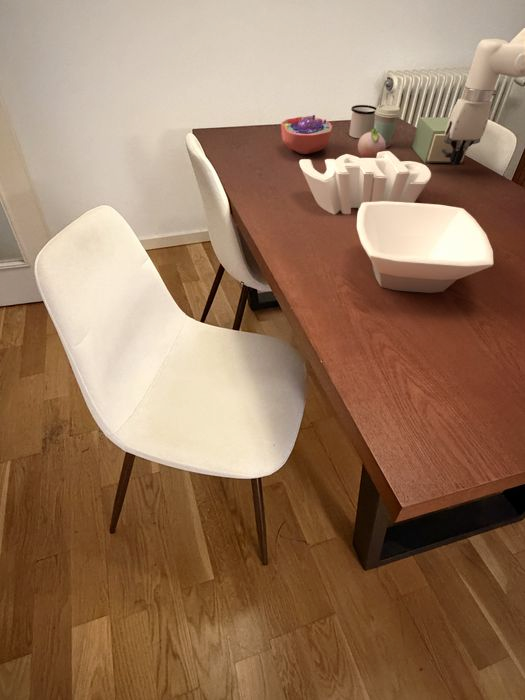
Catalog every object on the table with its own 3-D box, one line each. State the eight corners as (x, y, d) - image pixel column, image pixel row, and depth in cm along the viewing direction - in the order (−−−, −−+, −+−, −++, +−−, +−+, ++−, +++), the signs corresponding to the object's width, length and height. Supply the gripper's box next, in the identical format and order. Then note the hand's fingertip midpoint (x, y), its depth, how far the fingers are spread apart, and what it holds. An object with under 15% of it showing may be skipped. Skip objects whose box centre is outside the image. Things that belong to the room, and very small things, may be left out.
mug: (371, 140, 147) (377, 113, 140) (346, 138, 148) (350, 110, 142) (373, 130, 155) (378, 104, 148) (349, 128, 156) (353, 102, 150)
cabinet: (462, 162, 132) (473, 131, 125) (424, 162, 132) (433, 130, 125) (446, 147, 142) (456, 117, 136) (411, 147, 142) (419, 117, 135)
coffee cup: (378, 139, 147) (386, 102, 139) (397, 146, 143) (406, 108, 134) (363, 144, 143) (370, 106, 135) (382, 151, 139) (390, 112, 130)
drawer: (468, 167, 127) (478, 140, 122) (433, 167, 127) (441, 140, 121) (448, 147, 140) (456, 122, 135) (416, 146, 140) (422, 122, 134)
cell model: (329, 142, 144) (333, 107, 136) (328, 163, 130) (332, 124, 122) (282, 140, 146) (284, 104, 138) (276, 160, 132) (277, 121, 124)
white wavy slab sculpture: (300, 214, 105) (304, 173, 97) (295, 188, 116) (298, 149, 109) (433, 215, 105) (446, 174, 98) (415, 188, 117) (426, 150, 110)
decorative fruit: (352, 156, 135) (358, 124, 128) (376, 156, 135) (383, 124, 128) (358, 167, 128) (364, 133, 121) (383, 167, 128) (391, 133, 121)
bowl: (346, 240, 95) (353, 198, 88) (454, 247, 94) (471, 205, 87) (350, 303, 78) (360, 257, 71) (483, 313, 77) (506, 268, 69)
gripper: (496, 91, 115) (472, 158, 128) (445, 92, 114) (426, 159, 127) (509, 98, 109) (483, 167, 122) (456, 98, 109) (435, 168, 122)
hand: (454, 163), depth 125 cm, fingers closed
